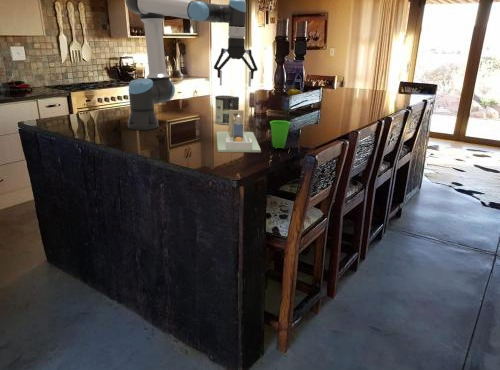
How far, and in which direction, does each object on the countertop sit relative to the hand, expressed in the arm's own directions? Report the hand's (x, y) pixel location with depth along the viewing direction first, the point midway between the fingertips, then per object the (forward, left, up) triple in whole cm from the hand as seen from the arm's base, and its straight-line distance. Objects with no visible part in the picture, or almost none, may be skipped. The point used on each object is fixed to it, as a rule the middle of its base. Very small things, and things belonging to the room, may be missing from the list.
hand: (235, 85), depth 185 cm
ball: (0, -25, -20) cm, 32 cm away
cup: (+18, -23, -24) cm, 38 cm away
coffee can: (-4, +27, -24) cm, 36 cm away
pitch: (0, -15, -23) cm, 28 cm away
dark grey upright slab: (0, -11, -21) cm, 24 cm away
